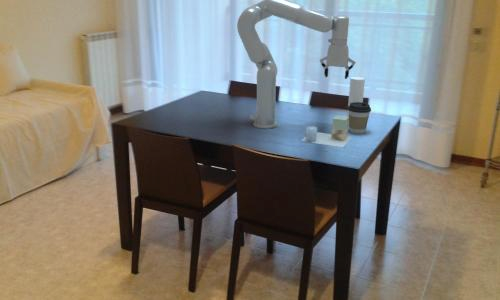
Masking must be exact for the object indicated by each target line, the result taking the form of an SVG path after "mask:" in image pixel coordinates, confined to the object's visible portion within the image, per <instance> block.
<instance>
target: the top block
mask: <svg viewBox="0 0 500 300" xmlns="http://www.w3.org/2000/svg"><path fill="white" fill-rule="evenodd" d="M348 122H349V117H347V116H345V115H335V116H334V117H333V118H332V124H331V130H332V129H336V130H343V131H345V130H346V129H347V128H348V129H349V127H348Z"/></svg>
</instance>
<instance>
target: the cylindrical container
mask: <svg viewBox="0 0 500 300" xmlns="http://www.w3.org/2000/svg"><path fill="white" fill-rule="evenodd" d="M365 80H366V78H365V77H361V76H351V77H350V81H349V92H348V103H347V104H348V105H347V107H348V106H350V104H351V103H353V102H362V103H364V102H363V101H364V93H365V82H366V81H365ZM346 113H347V116H346V117H349V110H348V109H347V112H346ZM348 128H349V122H348Z"/></svg>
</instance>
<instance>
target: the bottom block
mask: <svg viewBox="0 0 500 300" xmlns="http://www.w3.org/2000/svg"><path fill="white" fill-rule="evenodd" d="M348 130H349V127H348V128H347V129H346V130H345V131H343V130H336V129H332V128H331V134H332V137H331V139H334V140H341V141H344V140H345V139H346V138H347V137H348V132H349V131H348Z"/></svg>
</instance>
